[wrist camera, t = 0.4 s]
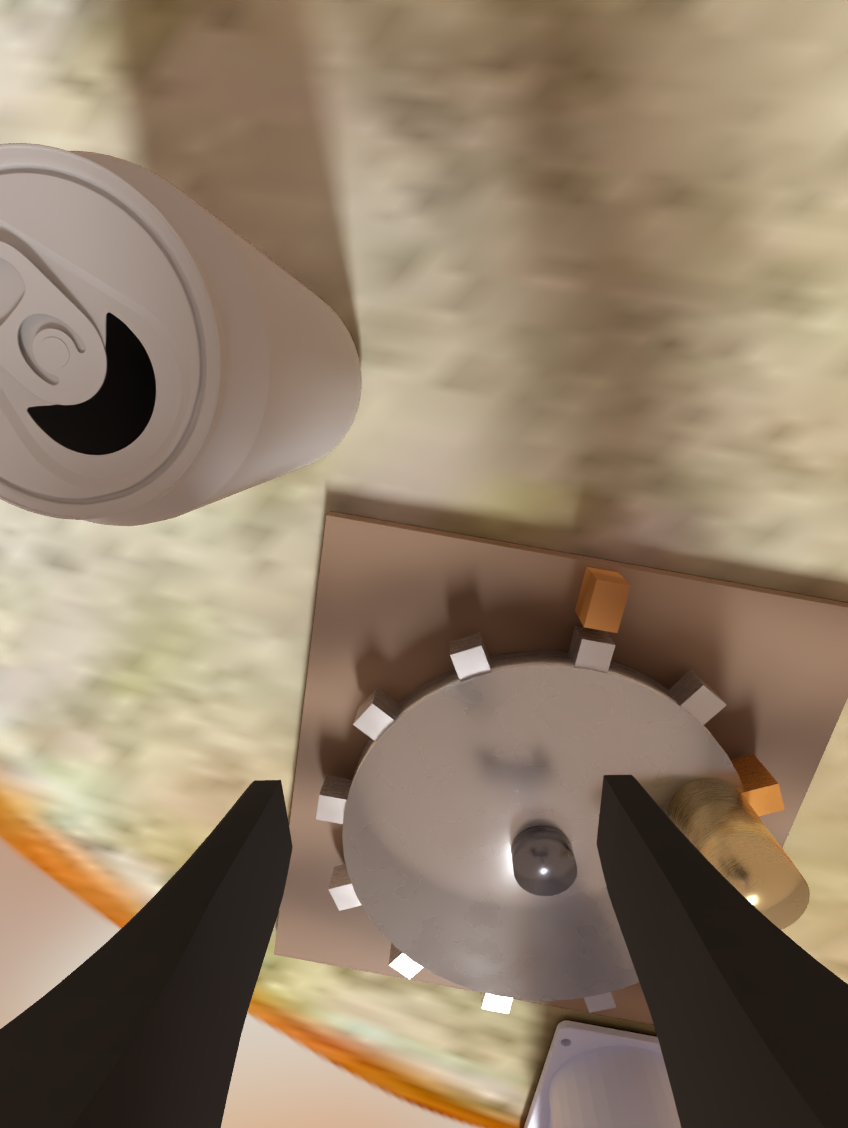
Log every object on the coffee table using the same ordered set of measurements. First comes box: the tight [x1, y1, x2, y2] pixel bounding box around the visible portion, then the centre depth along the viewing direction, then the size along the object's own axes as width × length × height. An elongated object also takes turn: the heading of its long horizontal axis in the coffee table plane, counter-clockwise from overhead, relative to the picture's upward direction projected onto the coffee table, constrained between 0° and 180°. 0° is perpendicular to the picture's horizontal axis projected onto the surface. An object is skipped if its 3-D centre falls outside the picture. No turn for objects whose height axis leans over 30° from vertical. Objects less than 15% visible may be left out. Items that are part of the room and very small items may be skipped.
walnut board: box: [274, 511, 848, 1025], centre depth 23 cm, size 22×21×2 cm
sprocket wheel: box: [316, 626, 810, 1013], centre depth 21 cm, size 18×18×6 cm
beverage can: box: [0, 143, 361, 526], centre depth 15 cm, size 6×6×12 cm
